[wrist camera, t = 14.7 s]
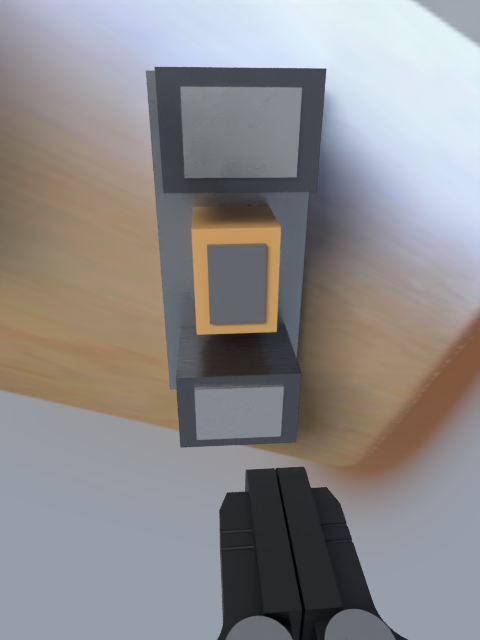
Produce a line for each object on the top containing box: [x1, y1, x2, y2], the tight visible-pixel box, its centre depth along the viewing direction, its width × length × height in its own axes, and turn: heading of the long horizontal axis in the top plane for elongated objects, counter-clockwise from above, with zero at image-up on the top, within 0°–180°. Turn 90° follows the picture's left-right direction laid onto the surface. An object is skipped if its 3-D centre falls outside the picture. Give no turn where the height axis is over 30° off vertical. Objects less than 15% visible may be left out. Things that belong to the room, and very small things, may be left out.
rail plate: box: [146, 67, 326, 447], centre depth 27 cm, size 9×20×8 cm, turn 0°
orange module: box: [191, 206, 281, 335], centre depth 26 cm, size 6×4×5 cm
